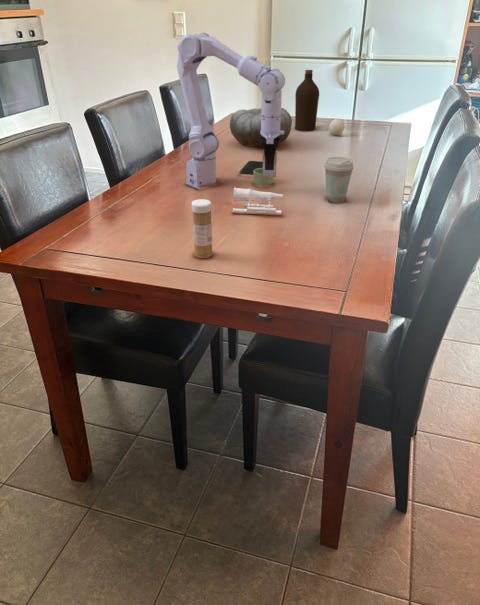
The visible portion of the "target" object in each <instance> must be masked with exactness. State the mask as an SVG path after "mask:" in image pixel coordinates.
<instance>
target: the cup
mask: <svg viewBox="0 0 480 605" xmlns="http://www.w3.org/2000/svg"><path fill="white" fill-rule="evenodd" d="M262 172H263V168H258V169H255V170H254V171H253V175H252V177H253V178H252V179H253V180H252V182H253V184H255V185H258V186H269V185H272V184H273V183H274V177H262Z"/></svg>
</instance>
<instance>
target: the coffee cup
mask: <svg viewBox="0 0 480 605" xmlns="http://www.w3.org/2000/svg"><path fill="white" fill-rule="evenodd" d="M323 166H324V169H325V171H324V172H325V173H324V175H325V198H326V199H327V201H328V202H329V203H334V204H340V203H344V202H346V198H347V194H348V189H349V186H350V180H351V178H352V173H353V170H354V168H355V167H354V163H353V160H352V159H351V158H348V157H341V156H334V157H329V158H327V159H326V161H325V163H324V165H323Z"/></svg>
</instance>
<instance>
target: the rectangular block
mask: <svg viewBox="0 0 480 605" xmlns="http://www.w3.org/2000/svg"><path fill="white" fill-rule="evenodd" d="M277 161H278V150H276V152H275V157H274V162H273V164H266V161H265V154H264V149H263V150H262V162H263V172H262V177H273V178H276V177H277Z"/></svg>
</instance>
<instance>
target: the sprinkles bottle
mask: <svg viewBox="0 0 480 605" xmlns="http://www.w3.org/2000/svg"><path fill="white" fill-rule="evenodd" d="M212 207H213V206H212V202H211V201H210V200H209V199H204V198H203V199H202V198H199V199H195V200H192V202H191V212H192V230H193V232H192V233H193V234H192V235H193V247H194V252H193V255H194V257H196V258H199V259H208V258H210V257H212V256H213V254H214V252H213V222H212Z"/></svg>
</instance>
